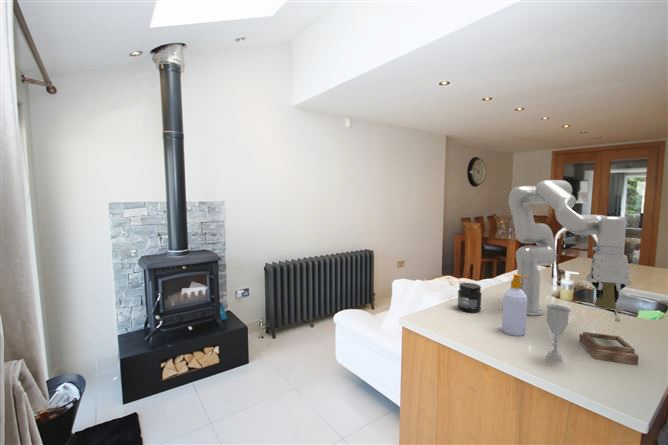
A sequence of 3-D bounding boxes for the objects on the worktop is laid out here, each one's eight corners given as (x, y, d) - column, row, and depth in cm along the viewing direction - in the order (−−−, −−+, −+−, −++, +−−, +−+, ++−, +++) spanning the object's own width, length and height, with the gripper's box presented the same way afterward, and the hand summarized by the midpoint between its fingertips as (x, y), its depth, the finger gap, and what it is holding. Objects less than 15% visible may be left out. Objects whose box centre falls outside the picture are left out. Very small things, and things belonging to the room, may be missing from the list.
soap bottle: (518, 338, 129) (522, 278, 126) (496, 329, 137) (499, 273, 135) (532, 334, 133) (535, 276, 130) (510, 325, 141) (513, 271, 139)
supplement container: (476, 306, 165) (477, 282, 164) (483, 313, 155) (485, 288, 154) (454, 305, 166) (455, 281, 165) (460, 312, 156) (461, 288, 155)
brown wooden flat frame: (594, 358, 113) (595, 345, 113) (579, 341, 127) (580, 330, 126) (637, 364, 110) (638, 351, 109) (617, 346, 123) (618, 334, 122)
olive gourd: (620, 309, 117) (622, 279, 116) (600, 308, 118) (603, 278, 117) (609, 304, 123) (611, 275, 122) (591, 303, 124) (593, 274, 123)
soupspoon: (623, 311, 162) (606, 309, 166) (623, 305, 162) (606, 302, 166) (627, 324, 145) (607, 321, 149) (627, 316, 145) (607, 313, 149)
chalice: (537, 354, 116) (540, 304, 115) (555, 353, 117) (559, 303, 115) (553, 364, 109) (556, 311, 107) (572, 364, 110) (576, 311, 108)
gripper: (587, 251, 118) (583, 301, 119) (644, 253, 113) (640, 306, 114) (578, 248, 125) (576, 295, 127) (632, 250, 120) (629, 300, 121)
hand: (606, 300), depth 120 cm, fingers closed on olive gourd, 3 cm apart
